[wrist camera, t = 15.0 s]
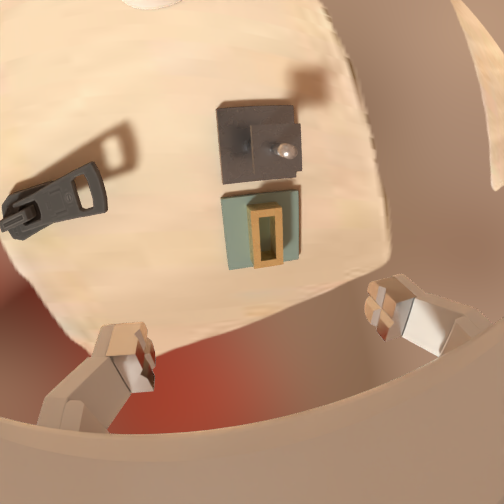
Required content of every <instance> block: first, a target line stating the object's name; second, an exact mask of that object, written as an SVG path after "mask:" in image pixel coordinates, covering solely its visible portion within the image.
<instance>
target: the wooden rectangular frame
mask: <svg viewBox="0 0 504 504" xmlns="http://www.w3.org/2000/svg"><path fill="white" fill-rule="evenodd" d="M246 207H247V221H248V234H249V246H250V259H251V262H252V264H253V266H254V269H256V268H262V267H269V266H275V265H281V264H283V223H282V207H281V206H280V205H279V204H278V203H277V202H268V203H260V204H251V205H246ZM269 216H270V238H271V250H269V251H262V252H261V249H260V232H259V218H261V217H269Z"/></svg>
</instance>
